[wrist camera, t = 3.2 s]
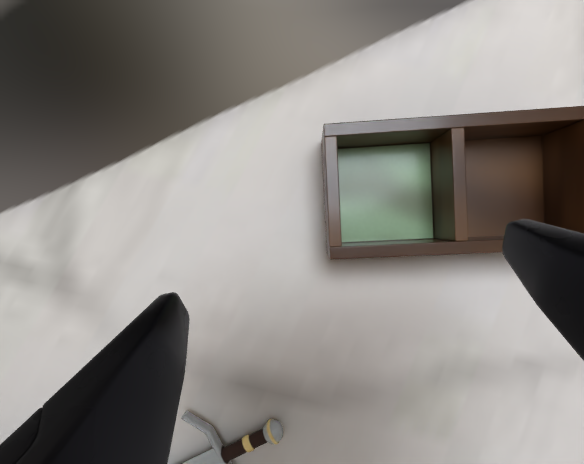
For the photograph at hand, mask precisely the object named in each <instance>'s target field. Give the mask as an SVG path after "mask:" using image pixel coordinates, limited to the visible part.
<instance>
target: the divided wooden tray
mask: <svg viewBox="0 0 584 464" xmlns="http://www.w3.org/2000/svg"><path fill="white" fill-rule="evenodd" d="M321 142H322V163H323V184H324V205H325V227H326V248H327V254H328V256H329V258H330V259H354V258H377V257H401V256H425V255H448V254H472V253H495V252H502V245H503V239H504V234H505V228H506V225H507V224H508V223H509V222H511V221H516V220H520V219H530V220H534V221H537V222H541V223H545V224H549V225H553V226H557V227H561V228H565V229H568V230H572V231H576V232H580V233H584V106H576V107H561V108H547V109H533V110H518V111H504V112H489V113H475V114H461V115H446V116H432V117H418V118H403V119H389V120H375V121H360V122H346V123H332V124H324V126H323V133H322V141H321Z"/></svg>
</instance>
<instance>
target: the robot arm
mask: <svg viewBox="0 0 584 464" xmlns="http://www.w3.org/2000/svg"><path fill="white" fill-rule="evenodd" d="M502 252H503V255H504V257H505V258H506V260H507V261H508V263H509V264H510V266H511V267H512V269H513V270H514V272H515V273H516V275H517V276H518V278H519V279H520V281H521V282H522V284H523V285H524V287H525V288H526V290H527V291H528V293H529V294H530V296H531V297H532V298H533V300H534V301H535V303H536V304H537V305H538V306H539V308H540V309H541V310H542V311H543V313H544V314H545V315H546V316H547V318H548V319H549V320H550V321H551V322H552V323H553V325H554V326H555V327H556V328H557V329H558V331H559V332H560V333H561V334H562V335H563V337H564V338H565V339H566V340H567V341H568V343H569V344H570V345H571V346H572V347H573V349H574V350H575V351H576V352H577V353H578V355H579V356H580V357H581V358H582V359H583V360H584V233H580V232H576V231H572V230H568V229H565V228H561V227H557V226H553V225H549V224H545V223H541V222H537V221H534V220H530V219H520V220H516V221H511V222H509V223H508V224H507V225H506V228H505V234H504V239H503V245H502ZM188 331H189V314H188V311H187V310H186V308H185V306H184V304H183V303H182V301H181V299H180V297H179V296H178V294H177V293H174V292H172V293H167V294H163V295H160V296H159V297H158V298H157V299H156V300H155V301H154V302H152V303H151V304H150V305H149V306H148V307H147V308H146V309H145V310H144V311H143V312H142V313H141V314H140V315H139V316H138V317H136V318H135V319H134V320H133V321H132V322H131V323H130V324H129V325H128V326H127V327H126V328H125V329H124V330H123V331H122V332H120V333H119V334H118V335H117V336H116V337H115V338H114V339H113V340H112V341H111V342H110V343H109V344H108V345H107V346H106V347H104V348H103V349H102V350H101V351H100V352H99V353H98V354H97V355H96V356H95V357H94V358H93V359H92V360H91V361H90V362H89V363H87V364H86V365H85V366H84V367H83V368H82V369H81V370H80V371H79V372H78V373H77V374H76V375H75V376H74V377H73V378H71V379H70V380H69V381H68V382H67V383H66V384H65V385H64V386H63V387H62V388H61V389H60V390H59V391H58V392H57V393H55V394H54V395H53V396H52V397H51V398H50V399H49V400H48V401H47V402H46V403H45V404H44V405H43V408H39V409H38V410H37V411H36V412H35V413H34V414H33V415H32V416H31V417H30V418H29V419H28V420H27V421H26V422H25V423H23V424H22V425H21V426H20V427H19V428H18V429H17V430H16V431H15V432H14V433H13V434H11V435H10V436H9V437H8V438H7V439H6V440H5V441H4V442H3V443H2V444H1V445H0V464H167V462H168V457H169V452H170V447H171V442H172V437H173V431H174V426H175V421H176V416H177V411H178V406H179V401H180V395H181V390H182V385H183V380H184V374H185V366H186V355H187V343H188Z"/></svg>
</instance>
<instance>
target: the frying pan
mask: <svg viewBox="0 0 584 464" xmlns="http://www.w3.org/2000/svg"><path fill="white" fill-rule="evenodd" d="M182 419H183V420H184V421H186V422H187V423H189V424H191V425H192V426H194V427H196V428H197V429H199V430H200V431H202V432H204V433H205V434H206V436H207V438H208V440H209V441H210V443H211V445H212V447H213V449H211V450H209V451H207V452H205V453H203V454H200V455H198V456H196V457H194V458H192V459H190V460H188V461H186V462H184V463H182V464H233V463H232V461H231V460H232V459H234V458H236V457H238V456H240V455H242V454H244V453H246V452H251V451H253V450H254V449H255V448H257V447H259V446H261V445H263V444H265V443H267V442H268V443H271V444H278V443H279V441H280V440H281V438H282V436H283V426H282V424H281V423H280V422H279V421H277V420H273V419H269V420H268V422H267V423H266V424H265V426H264V428H263V429H261V430H259V431H257V432H255V433H253V434H251V435H246V436H244V437H243V438H242V439H240V440H238V441H236V442H234V443H232V444H230V445H228V446H226V447H224V446H223V444H222V443H221V441H220V439H219V437H218V435H217V433H216V431H215V429H214V427H213V426H212V425H210V424H209V423H207V422H205V421H204V420H202V419H200V418H199V417H197V416H195V415H194V414H192V413H190V412H189V411H186V412H185V413H184V415H183V416H182Z"/></svg>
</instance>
